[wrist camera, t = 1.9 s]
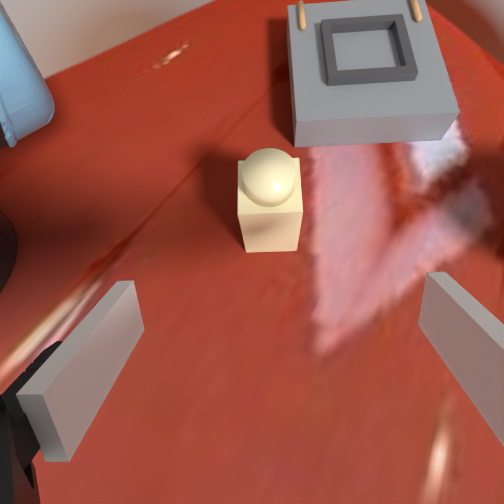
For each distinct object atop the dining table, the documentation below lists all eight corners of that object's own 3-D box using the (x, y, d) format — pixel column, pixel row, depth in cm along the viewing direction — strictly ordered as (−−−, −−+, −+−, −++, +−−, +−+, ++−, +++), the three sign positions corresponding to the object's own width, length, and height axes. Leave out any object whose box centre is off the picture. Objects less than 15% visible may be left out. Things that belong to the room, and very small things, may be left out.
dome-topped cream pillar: (246, 252, 33) (234, 201, 23) (246, 208, 35) (235, 144, 25) (296, 250, 32) (305, 198, 23) (293, 206, 34) (300, 141, 25)
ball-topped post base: (294, 147, 37) (297, 113, 32) (286, 37, 44) (288, -4, 39) (440, 139, 36) (465, 104, 31) (410, 28, 43) (426, -15, 38)
